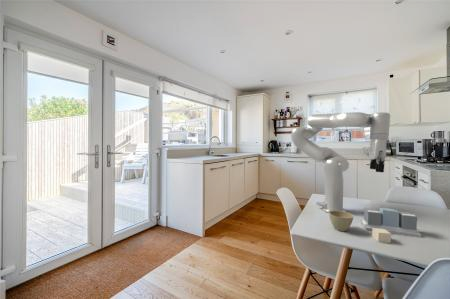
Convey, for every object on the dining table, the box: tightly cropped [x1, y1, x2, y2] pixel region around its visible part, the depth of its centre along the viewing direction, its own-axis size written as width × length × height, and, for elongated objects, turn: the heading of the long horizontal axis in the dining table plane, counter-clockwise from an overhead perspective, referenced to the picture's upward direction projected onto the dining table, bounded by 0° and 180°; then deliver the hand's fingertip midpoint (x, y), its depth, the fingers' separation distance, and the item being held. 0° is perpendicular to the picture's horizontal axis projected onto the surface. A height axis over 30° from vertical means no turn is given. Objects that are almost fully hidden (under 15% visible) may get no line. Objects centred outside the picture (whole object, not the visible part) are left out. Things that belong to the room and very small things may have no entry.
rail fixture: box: [360, 207, 422, 238], centre depth 94 cm, size 20×9×8 cm, turn 70°
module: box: [378, 207, 399, 228], centre depth 94 cm, size 6×4×7 cm
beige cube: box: [371, 228, 392, 244], centre depth 84 cm, size 4×4×4 cm
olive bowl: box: [328, 211, 354, 232], centre depth 95 cm, size 10×10×7 cm
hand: (376, 170), depth 103 cm, fingers open, 9 cm apart
